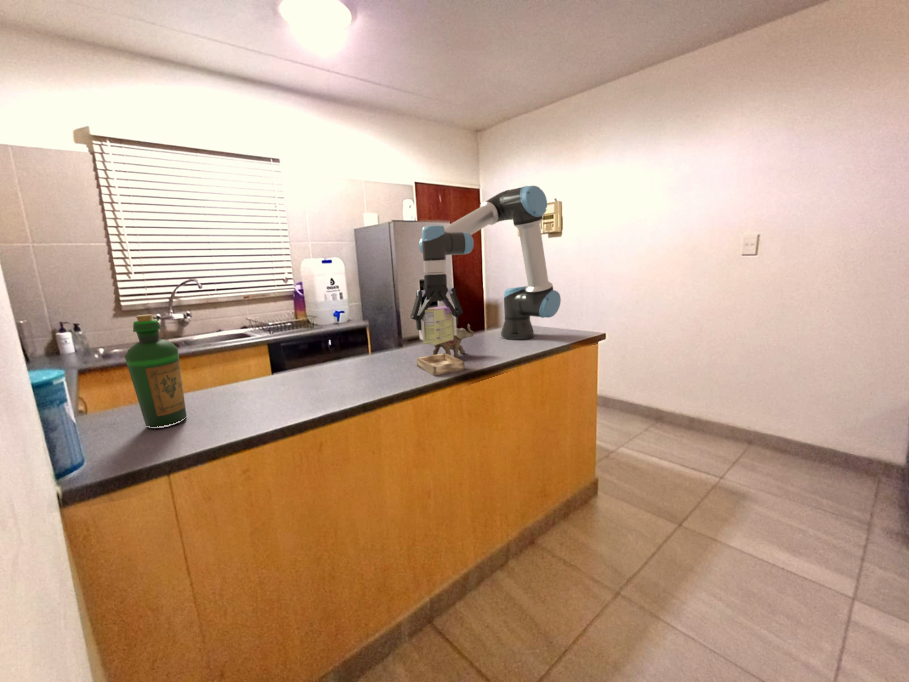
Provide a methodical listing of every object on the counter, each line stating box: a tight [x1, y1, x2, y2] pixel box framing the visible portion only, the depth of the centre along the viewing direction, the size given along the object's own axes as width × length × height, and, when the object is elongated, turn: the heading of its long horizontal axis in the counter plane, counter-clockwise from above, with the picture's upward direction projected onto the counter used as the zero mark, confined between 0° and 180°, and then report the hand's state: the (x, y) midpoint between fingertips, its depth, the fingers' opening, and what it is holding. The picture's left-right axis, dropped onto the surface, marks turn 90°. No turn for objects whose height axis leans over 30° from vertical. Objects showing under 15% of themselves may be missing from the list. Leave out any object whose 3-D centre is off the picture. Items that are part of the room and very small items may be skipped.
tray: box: [416, 352, 466, 377], centre depth 140 cm, size 12×15×3 cm
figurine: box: [432, 323, 475, 359], centre depth 154 cm, size 10×14×15 cm, turn 88°
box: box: [422, 305, 454, 346], centre depth 137 cm, size 10×6×12 cm, turn 145°
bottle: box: [124, 313, 187, 427], centre depth 99 cm, size 11×11×28 cm
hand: (438, 337), depth 138 cm, fingers closed on box, 11 cm apart
